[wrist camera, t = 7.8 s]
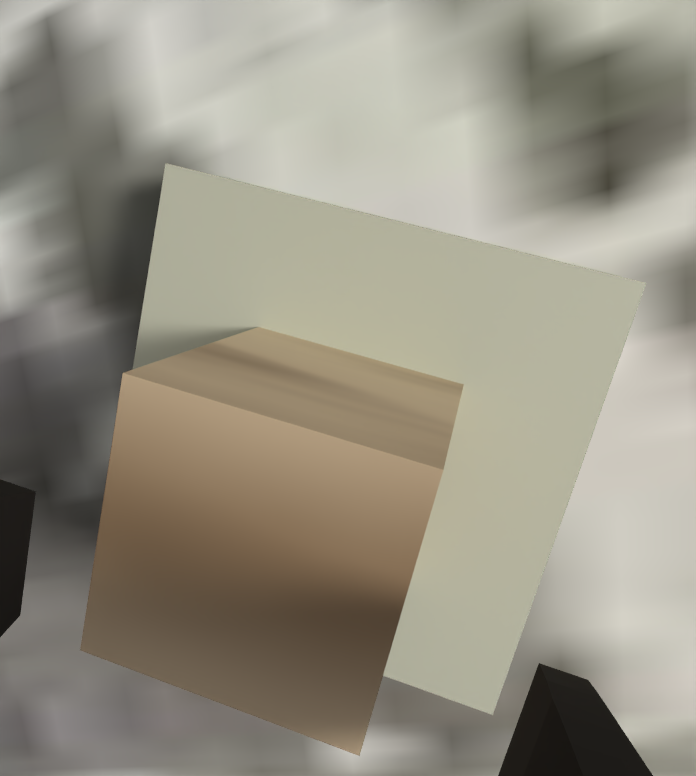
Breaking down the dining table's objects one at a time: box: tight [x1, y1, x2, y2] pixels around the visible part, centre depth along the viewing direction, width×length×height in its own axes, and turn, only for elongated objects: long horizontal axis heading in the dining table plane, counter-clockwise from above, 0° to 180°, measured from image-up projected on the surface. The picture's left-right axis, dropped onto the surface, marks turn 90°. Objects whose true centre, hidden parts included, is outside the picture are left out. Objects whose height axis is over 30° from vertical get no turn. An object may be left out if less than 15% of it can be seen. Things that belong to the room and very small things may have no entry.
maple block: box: [80, 327, 464, 755], centre depth 13 cm, size 5×5×6 cm
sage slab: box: [133, 164, 646, 715], centre depth 17 cm, size 11×11×3 cm
